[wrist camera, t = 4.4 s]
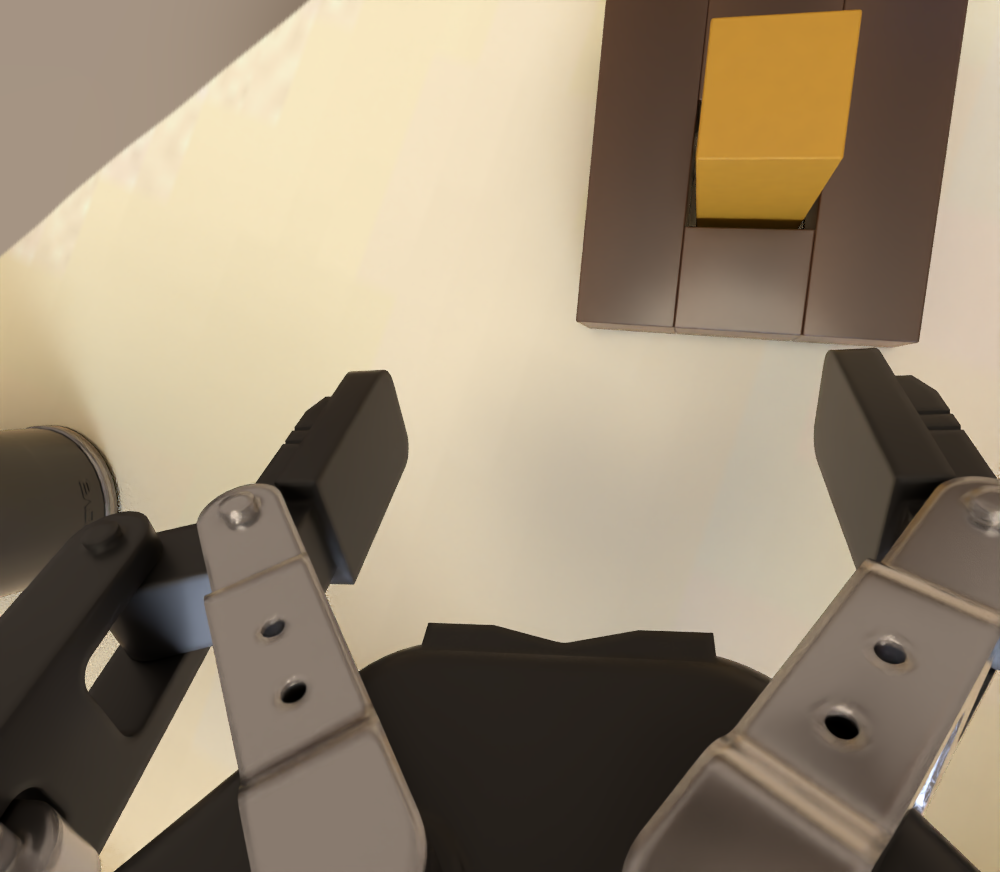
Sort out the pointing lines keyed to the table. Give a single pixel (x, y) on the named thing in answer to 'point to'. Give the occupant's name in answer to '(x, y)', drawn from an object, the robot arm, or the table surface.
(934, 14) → the walnut stand
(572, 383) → the table surface
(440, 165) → the table surface
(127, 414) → the table surface
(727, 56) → the ochre peg
